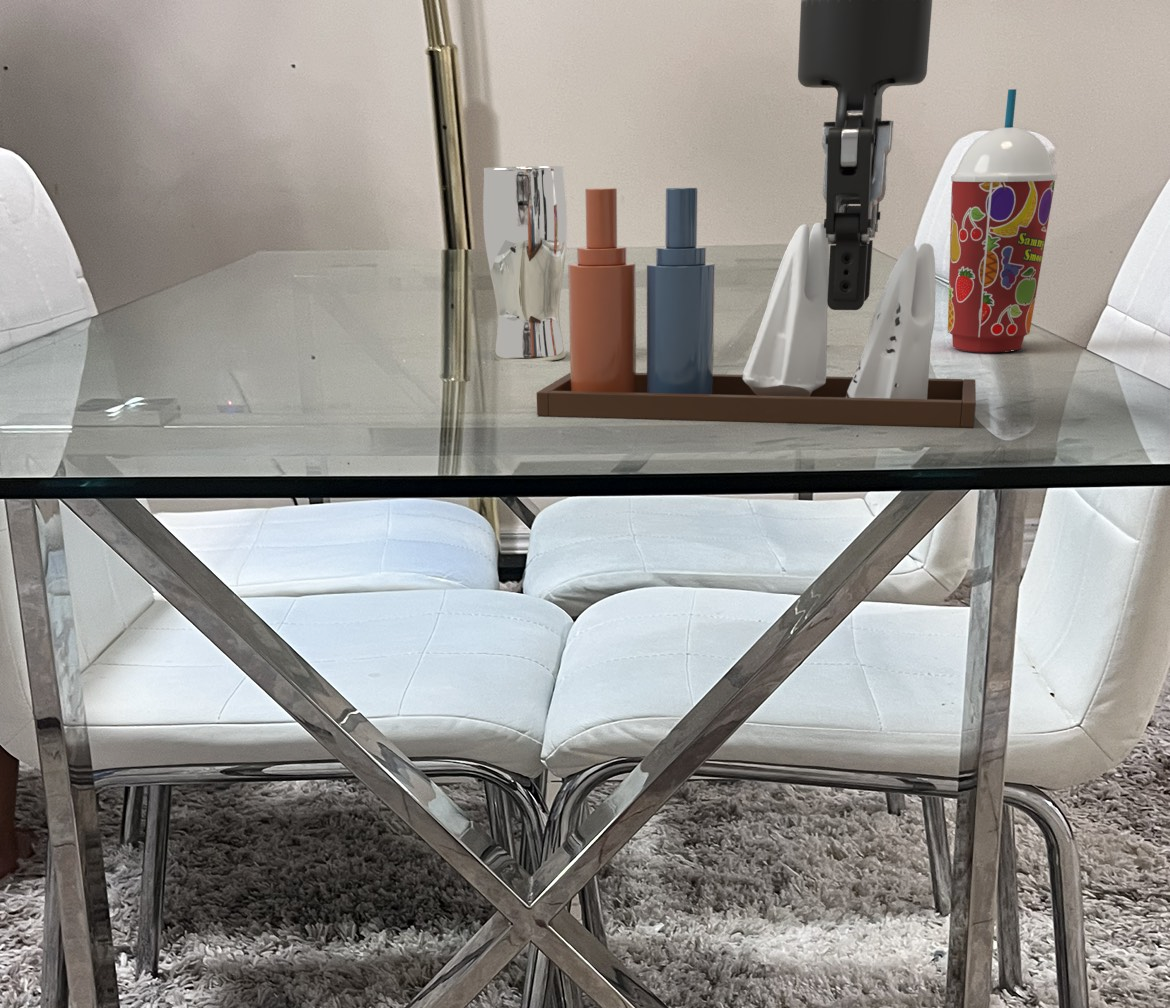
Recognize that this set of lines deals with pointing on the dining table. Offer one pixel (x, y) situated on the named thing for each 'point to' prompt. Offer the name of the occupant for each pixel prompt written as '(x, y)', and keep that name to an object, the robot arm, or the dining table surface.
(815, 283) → the shaker set
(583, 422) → the dining table surface
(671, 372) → the slate-blue bottle
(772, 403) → the tray
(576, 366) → the terracotta bottle
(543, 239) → the beer glass
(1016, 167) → the smoothie
